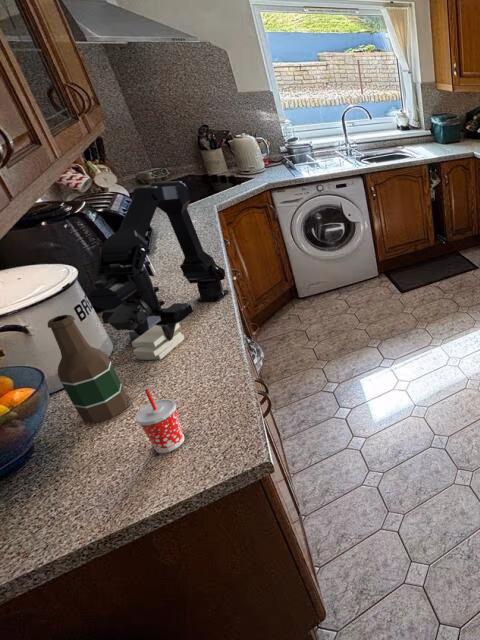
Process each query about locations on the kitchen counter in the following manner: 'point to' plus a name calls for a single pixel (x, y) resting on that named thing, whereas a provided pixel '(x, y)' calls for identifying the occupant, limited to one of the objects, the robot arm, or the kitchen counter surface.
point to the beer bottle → (87, 374)
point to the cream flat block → (159, 348)
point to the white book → (151, 337)
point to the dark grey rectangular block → (151, 323)
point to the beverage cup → (161, 424)
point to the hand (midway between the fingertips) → (159, 340)
